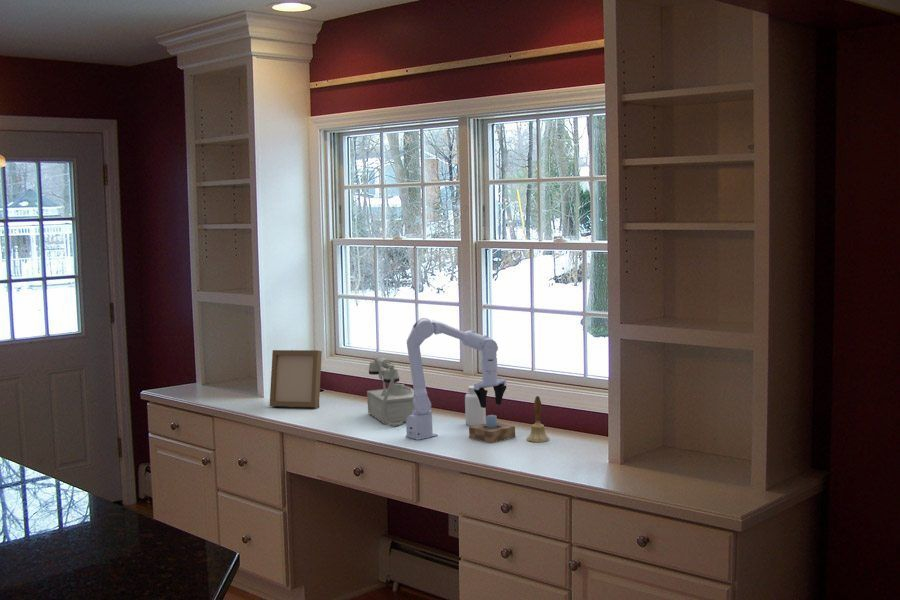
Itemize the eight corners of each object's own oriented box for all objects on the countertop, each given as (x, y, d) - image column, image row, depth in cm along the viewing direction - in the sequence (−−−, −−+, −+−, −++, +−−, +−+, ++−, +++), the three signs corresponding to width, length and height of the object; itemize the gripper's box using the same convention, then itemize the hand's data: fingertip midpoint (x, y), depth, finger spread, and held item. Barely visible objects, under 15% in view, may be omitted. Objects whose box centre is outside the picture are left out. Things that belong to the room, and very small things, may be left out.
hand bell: (551, 437, 358) (550, 394, 356) (547, 442, 350) (546, 398, 348) (529, 436, 360) (527, 394, 358) (524, 442, 352) (523, 398, 351)
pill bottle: (489, 425, 381) (488, 387, 380) (470, 427, 378) (469, 389, 377) (481, 421, 389) (479, 384, 387) (462, 423, 386) (461, 386, 384)
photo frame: (314, 409, 424) (312, 352, 422) (269, 408, 431) (266, 351, 429) (328, 402, 438) (326, 347, 436) (284, 401, 445) (282, 347, 443)
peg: (491, 439, 358) (491, 417, 357) (484, 437, 361) (483, 416, 360) (499, 437, 361) (499, 415, 360) (492, 435, 364) (491, 414, 363)
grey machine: (432, 423, 389) (429, 361, 386) (382, 429, 382) (380, 365, 379) (407, 408, 419) (404, 350, 417) (361, 413, 412) (358, 355, 409)
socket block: (490, 443, 353) (490, 432, 352) (469, 437, 362) (468, 427, 361) (515, 437, 360) (514, 426, 360) (493, 432, 369) (493, 421, 369)
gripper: (482, 374, 360) (483, 410, 362) (511, 368, 369) (512, 404, 371) (469, 372, 366) (471, 407, 367) (498, 366, 375) (499, 401, 376)
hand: (490, 405), depth 369 cm, fingers open, 7 cm apart
